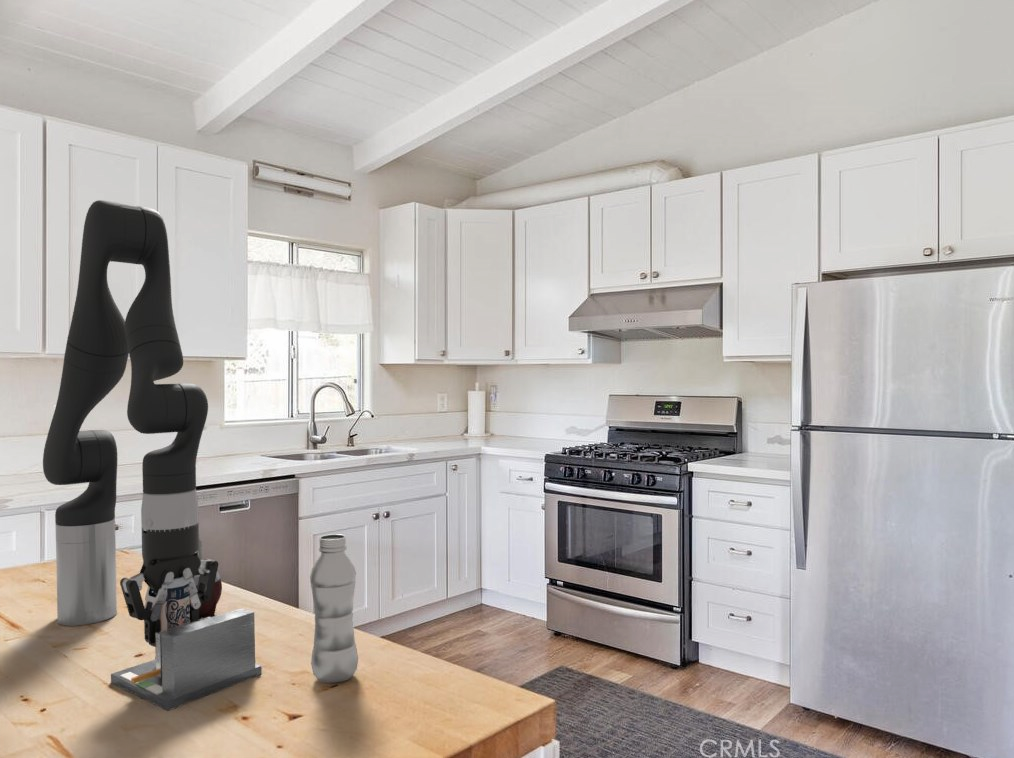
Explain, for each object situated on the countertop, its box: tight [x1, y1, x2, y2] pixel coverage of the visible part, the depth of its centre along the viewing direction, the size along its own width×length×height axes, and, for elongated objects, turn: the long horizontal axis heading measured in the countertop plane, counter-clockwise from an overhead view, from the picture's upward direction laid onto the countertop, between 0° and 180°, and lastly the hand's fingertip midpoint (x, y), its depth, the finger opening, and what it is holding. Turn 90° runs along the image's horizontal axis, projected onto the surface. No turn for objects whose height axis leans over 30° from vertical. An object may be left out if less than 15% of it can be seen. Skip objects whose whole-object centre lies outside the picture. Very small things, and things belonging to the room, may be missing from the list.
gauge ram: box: [131, 617, 211, 684], centre depth 105 cm, size 2×12×6 cm, turn 143°
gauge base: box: [110, 607, 263, 712], centre depth 106 cm, size 15×14×9 cm
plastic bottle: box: [309, 533, 359, 684], centre depth 105 cm, size 6×7×20 cm
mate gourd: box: [193, 534, 223, 620], centre depth 133 cm, size 8×8×15 cm
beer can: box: [154, 577, 190, 660], centre depth 108 cm, size 5×5×12 cm
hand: (172, 638), depth 108 cm, fingers closed on beer can, 4 cm apart
